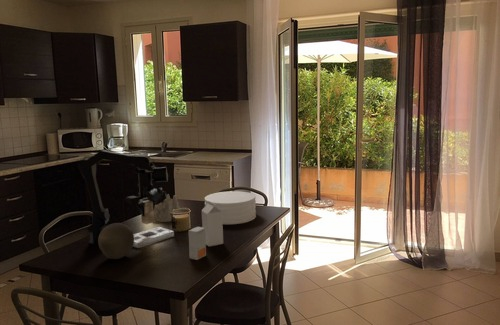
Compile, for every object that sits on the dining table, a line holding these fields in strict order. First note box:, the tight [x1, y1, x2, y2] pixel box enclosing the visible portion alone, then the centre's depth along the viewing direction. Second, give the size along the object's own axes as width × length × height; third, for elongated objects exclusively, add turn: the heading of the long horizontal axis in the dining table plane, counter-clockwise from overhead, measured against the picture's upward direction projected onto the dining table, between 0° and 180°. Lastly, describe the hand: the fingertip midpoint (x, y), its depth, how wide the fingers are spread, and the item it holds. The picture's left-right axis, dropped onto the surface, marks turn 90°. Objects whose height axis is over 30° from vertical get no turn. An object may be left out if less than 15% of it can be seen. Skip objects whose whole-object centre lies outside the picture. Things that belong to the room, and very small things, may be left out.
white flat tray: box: [132, 226, 175, 249], centre depth 186 cm, size 20×12×3 cm, turn 138°
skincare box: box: [188, 226, 207, 261], centre depth 162 cm, size 6×4×12 cm
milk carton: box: [201, 201, 224, 247], centre depth 177 cm, size 7×7×19 cm
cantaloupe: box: [98, 222, 134, 260], centre depth 162 cm, size 14×14×15 cm
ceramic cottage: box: [153, 193, 181, 223], centre depth 221 cm, size 16×16×15 cm
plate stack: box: [204, 190, 257, 225], centre depth 219 cm, size 28×28×12 cm
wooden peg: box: [140, 199, 155, 225], centre depth 184 cm, size 4×4×10 cm
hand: (147, 215), depth 184 cm, fingers closed on wooden peg, 4 cm apart
